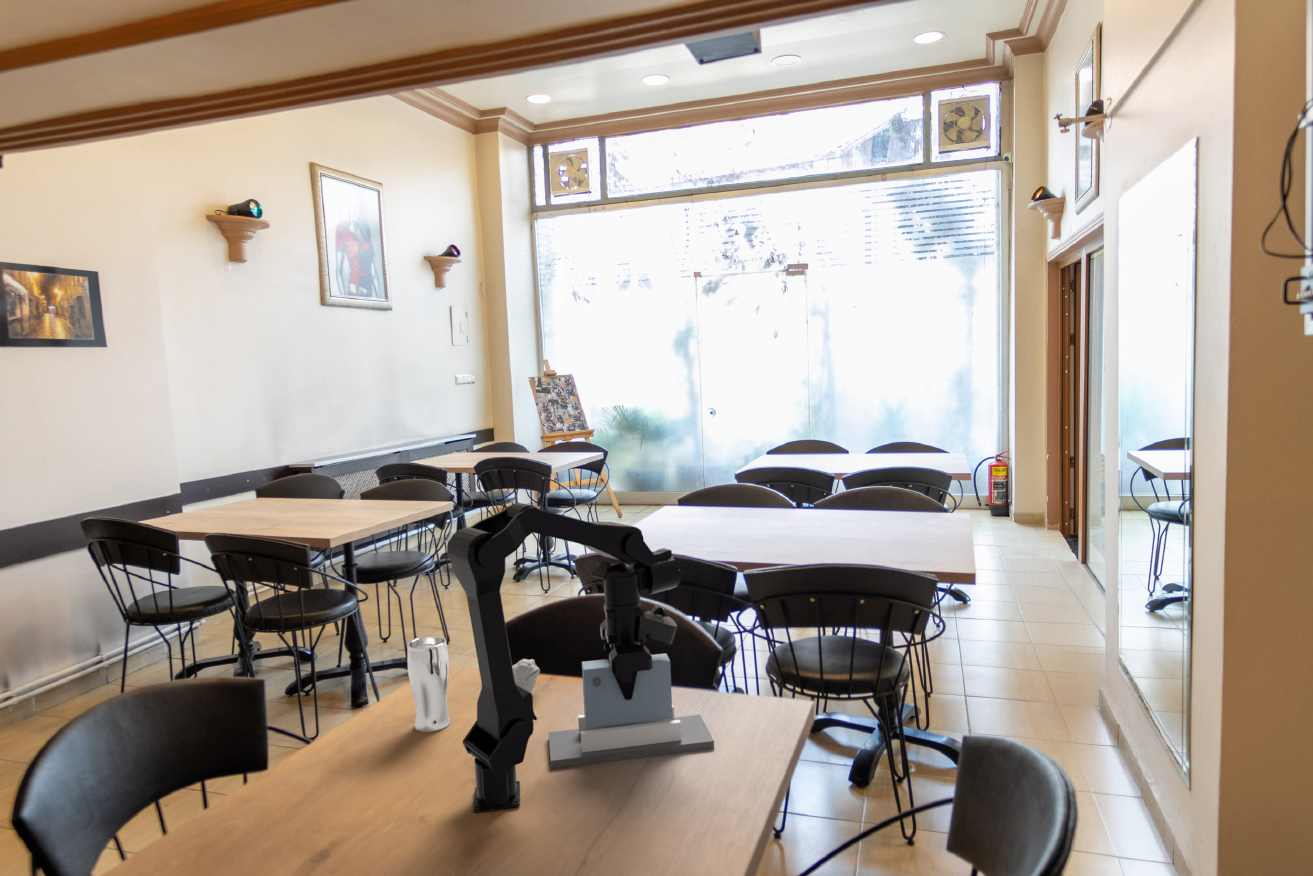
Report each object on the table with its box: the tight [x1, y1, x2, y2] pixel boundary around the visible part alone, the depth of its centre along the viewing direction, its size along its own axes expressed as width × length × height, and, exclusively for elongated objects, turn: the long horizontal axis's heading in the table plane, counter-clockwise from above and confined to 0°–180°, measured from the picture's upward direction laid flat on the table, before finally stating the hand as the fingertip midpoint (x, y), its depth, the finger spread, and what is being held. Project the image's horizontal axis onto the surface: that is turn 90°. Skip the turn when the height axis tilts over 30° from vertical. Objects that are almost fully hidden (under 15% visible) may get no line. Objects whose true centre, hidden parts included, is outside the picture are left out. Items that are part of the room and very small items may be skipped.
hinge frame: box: [548, 704, 715, 769], centre depth 131 cm, size 10×26×4 cm, turn 100°
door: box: [581, 653, 673, 728], centre depth 130 cm, size 4×14×10 cm, turn 100°
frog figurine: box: [512, 658, 541, 693], centre depth 153 cm, size 6×7×7 cm
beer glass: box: [407, 635, 451, 733], centre depth 141 cm, size 7×7×15 cm
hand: (626, 694), depth 131 cm, fingers closed on door, 4 cm apart
